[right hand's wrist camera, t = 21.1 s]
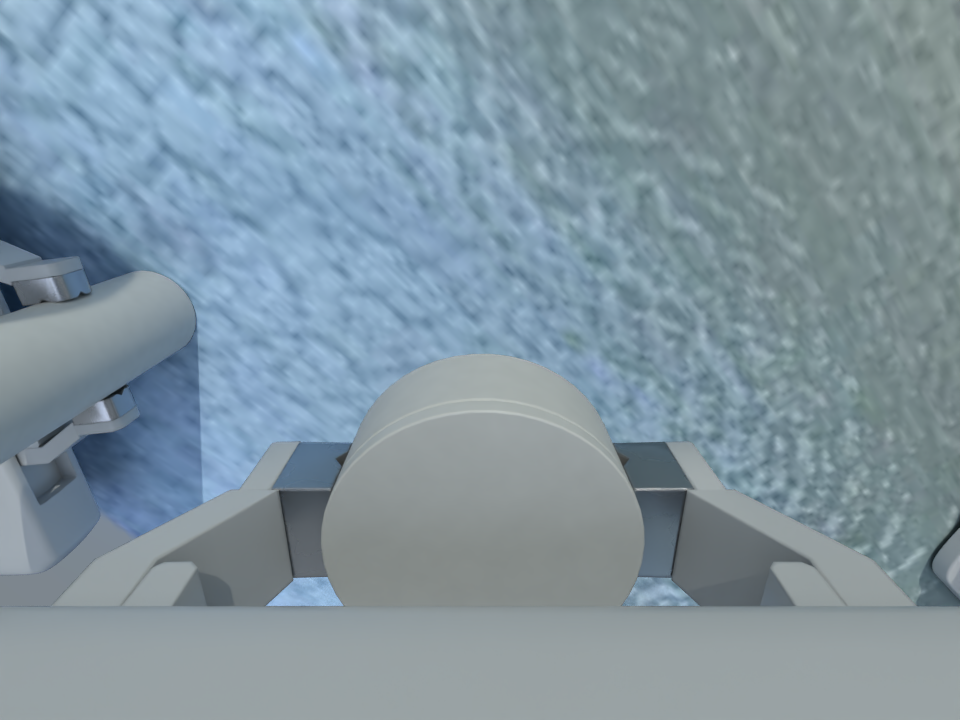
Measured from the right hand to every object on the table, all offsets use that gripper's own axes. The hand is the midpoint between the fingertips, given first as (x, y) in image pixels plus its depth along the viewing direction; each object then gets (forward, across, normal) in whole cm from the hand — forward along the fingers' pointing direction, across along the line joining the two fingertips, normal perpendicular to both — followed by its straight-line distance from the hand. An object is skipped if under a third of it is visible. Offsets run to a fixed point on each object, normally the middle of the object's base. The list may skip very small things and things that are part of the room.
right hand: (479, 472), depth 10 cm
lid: (-2, 0, 0) cm, 2 cm away
